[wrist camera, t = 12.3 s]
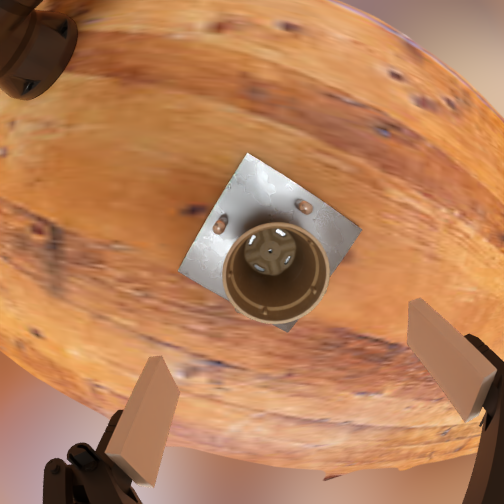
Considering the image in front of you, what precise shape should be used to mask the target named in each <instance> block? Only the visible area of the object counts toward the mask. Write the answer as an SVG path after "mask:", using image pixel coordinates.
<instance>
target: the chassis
mask: <svg viewBox="0 0 504 504" xmlns="http://www.w3.org/2000/svg"><path fill="white" fill-rule="evenodd" d="M272 222H283V223H289V224H293V225H296V226H299V227H301V228H303V229H305V230H307V231H308V232H309V233H311V234H312V235H313V236H314V237H315V238H316V239H317V240H318V241H319V242H320V243H321V245H322V246H323V248H324V250H325V252H326V254H327V257H328V260H329V268H330V276H331V275H332V273H333V272H334V271H335V269H336V268H337V266H338V265H339V263H340V262H341V261H342V259H343V258H344V256H345V255H346V253H347V252H348V250H349V249H350V247H351V246H352V244H353V243H354V241H355V240H356V238H357V237H358V235H359V234H360V232H361V231H362V229H361V228H359V227H358V226H357V225H355V224H354V223H353V222H351V221H350V220H348V219H347V218H346V217H344V216H343V215H341V214H340V213H339V212H337V211H336V210H334V209H333V208H332V207H330V206H329V205H327V204H326V203H324V202H323V201H322V200H320V199H319V198H317V197H316V196H314V195H313V194H311V193H310V192H308V191H307V190H305V189H304V188H302V187H301V186H299V185H298V184H296V183H295V182H293V181H292V180H290V179H289V178H287V177H285V176H284V175H282V174H281V173H279V172H278V171H276V170H274V169H273V168H271V167H270V166H268V165H266V164H265V163H263V162H262V161H260V160H258V159H257V158H255V157H253V156H252V155H250V154H248V153H247V154H246V156H245V157H244V159H243V160H242V162H241V164H240V165H239V167H238V168H237V170H236V172H235V173H234V175H233V176H232V178H231V180H230V181H229V183H228V185H227V186H226V188H225V189H224V191H223V193H222V194H221V196H220V198H219V199H218V201H217V203H216V204H215V206H214V208H213V209H212V211H211V213H210V215H209V216H208V218H207V220H206V221H205V223H204V225H203V227H202V228H201V230H200V232H199V234H198V235H197V237H196V239H195V241H194V242H193V244H192V246H191V248H190V249H189V251H188V253H187V255H186V257H185V258H184V260H183V262H182V264H181V266H180V267H179V269H178V272H180V273H181V274H183V275H185V276H186V277H188V278H190V279H192V280H193V281H195V282H197V283H198V284H200V285H202V286H204V287H205V288H207V289H209V290H210V291H212V292H214V293H216V294H218V295H219V296H221V297H223V298H225V299H226V300H228V301H230V300H229V299H228V297H227V295H226V293H225V290H224V287H223V280H222V270H223V264H224V261H225V258H226V255H227V253H228V251H229V249H230V248H231V246H232V245H233V244H234V242H235V241H236V240H237V239H238V238H239V237H240V236H241V235H243V234H244V233H245V232H247V231H249V230H250V229H252V228H254V227H256V226H259V225H262V224H266V223H272ZM276 233H278V234H280V235H281V236H283V237H285V236H286V234H285V233H284V232H283V231H281V230H280V229H277V230H276ZM255 238H256V236H255V235H252V237H251V239H250V242H249V245H251V244H252V242H253V241H254V239H255ZM269 253H272V250H269ZM290 258H291V257H290V256H289V257H288V258H287V259H286V261H285V263H284V264H287V263H288V261H289V260H290ZM255 268H256V269H257V270H259V271H264V270H265V269H262V268H260V267H259V266H257V265H255ZM329 278H330V277H329ZM326 291H327V289H326ZM325 293H326V292H325ZM235 311H236V312H237V313H240V312H239V311H238V310H237V309H236V308H235ZM297 320H298V319H297ZM297 320H294V321H291V322H288V323H283V324H272V325H274V326H276V327H278V328H280V329H282V330H284V331H286V332H289V331H290V329H291V328H292V327H293V326H294V324H295V323H296V322H297Z"/></svg>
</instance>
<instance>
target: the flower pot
mask: <svg viewBox="0 0 504 504" xmlns="http://www.w3.org/2000/svg"><path fill="white" fill-rule="evenodd" d="M277 229H280V230H281V231H283V232H284V233H285V234H286V236H285V237H283V236H281V235H280V234H278V233H276V230H277ZM252 235H255V236H256V238H255V239H254V241H253V242H252V244H251V245H249V242H250V239H251V237H252ZM269 250H272V253H269ZM289 256H290V257H291V258H290V260H289V261H288V263H287V264H284V263H285V261H286V259H287V258H288V257H289ZM255 265H257V266H259V267H260V268H262V269H265V270H264V271H259V270H257V269H256V268H255ZM329 277H330V268H329V260H328V257H327V254H326V252H325V250H324V248H323V246H322V245H321V243H320V242H319V241H318V240H317V239H316V238H315V237H314V236H313V235H312V234H311V233H309V232H308V231H307V230H305V229H303V228H301V227H299V226H296V225H293V224H289V223H283V222H272V223H266V224H262V225H259V226H256V227H254V228H252V229H250V230H249V231H247V232H245V233H244V234H243V235H241V236H240V237H239V238H238V239H237V240H236V241H235V242H234V244H233V245H232V246H231V248H230V249H229V251H228V253H227V255H226V258H225V261H224V264H223V270H222V280H223V287H224V290H225V293H226V295H227V297H228V299H229V300H230V302H231V304H232V305H233V306H234V307H235V308H236V309H237V310H238V311H239V312H240V313H241V314H243V315H245V316H246V317H248V318H250V319H252V320H255V321H258V322H261V323H267V324H283V323H288V322H291V321H294V320H297V319H300V318H301V317H303V316H305V315H307V314H308V313H309V312H310V311H312V310H313V309H314V308H315V307H316V306H317V305H318V303H319V302H320V301H321V300H322V298H323V296H324V294H325V292H326V289H327V287H328V283H329Z"/></svg>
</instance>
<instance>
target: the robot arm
mask: <svg viewBox="0 0 504 504" xmlns="http://www.w3.org/2000/svg"><path fill="white" fill-rule="evenodd" d="M42 1H43V0H0V89H2V90H3V91H4V92H5V93H6V94H8V95H9V96H10V97H12V98H15V99H20V100H30V99H33V98H35V97H37V96H39V95H40V94H42V93H43V92H44V91H45V90H47V89H48V88H49V87H50V86H51V85H52V84H53V83H54V82H55V80H56V79H57V78H58V77H59V75H60V74H61V73H62V71H63V70H64V68H65V67H66V65H67V63H68V61H69V59H70V57H71V55H72V53H73V51H74V48H75V45H76V40H77V26H76V24H75V22H74V21H73V20H72V19H71V18H70V17H68V16H67V15H65V14H63V13H59V12H51V11H40V10H35V8H36V7H37V6H38V5H39V4H40V3H41V2H42ZM407 344H408V346H409V347H410V348H411V349H412V351H413V352H414V353H415V355H416V356H417V357H418V358H419V360H420V361H421V362H422V364H423V365H424V366H425V368H426V369H427V370H428V372H429V373H430V374H431V376H432V377H433V378H434V380H435V381H436V382H437V384H438V385H439V386H440V388H441V389H442V390H443V392H444V393H445V395H446V396H447V397H448V399H449V400H450V402H451V403H452V404H453V406H454V407H455V409H456V410H457V412H458V413H459V414H460V416H461V417H462V419H463V420H464V422H465V423H467V422H468V421H470V420H472V419H473V418H475V417H477V416H478V415H479V413H480V411H481V409H482V407H484V409H485V410H486V413H485V415H484V417H483V419H482V421H481V423H480V425H479V426H482V424H483V427H482V433H481V438H480V443H479V448H478V452H477V457H476V461H475V465H474V468H473V472H472V476H471V479H470V482H469V486H468V489H467V492H466V494H465V498H464V500H463V503H462V504H504V362H503V361H502V360H501V359H500V358H499V357H498V356H497V355H496V354H495V353H494V352H493V351H492V350H491V349H489V347H488V346H487V345H485V344H484V343H483V342H482V341H481V340H480V339H479V338H478V337H476V336H473V335H471V334H467V335H465V336H463V335H462V334H461V333H459V332H458V331H457V330H456V329H455V328H454V327H453V326H452V325H451V324H450V323H449V322H447V321H446V320H445V319H444V318H443V317H442V316H441V315H440V314H439V313H437V312H436V311H435V310H434V309H433V308H432V307H431V306H430V305H428V304H427V303H426V302H425V301H424V300H423V299H421V298H418V299H415V300H412V301H409V309H408V333H407ZM179 395H180V391H179V389H178V387H177V385H176V383H175V381H174V379H173V377H172V375H171V373H170V371H169V369H168V367H167V365H166V363H165V361H164V359H163V357H162V356H154V357H149V359H148V361H147V363H146V365H145V367H144V369H143V371H142V373H141V375H140V377H139V379H138V381H137V383H136V385H135V387H134V390H133V392H132V394H131V396H130V398H129V400H128V402H127V404H126V406H125V408H124V410H118V411H117V412H116V413H115V414H114V415H113V416H112V417H111V419H110V421H109V424H108V426H107V428H106V430H105V432H104V434H103V436H102V438H101V440H100V442H99V444H98V447H97V449H96V451H94V450H93V449H92V447H91V446H90V445H89V444H87V443H78V444H75V445H74V446H72V447H71V448H70V449H69V451H68V453H67V460H68V461H69V462H71V463H72V464H71V465H67V464H66V463H65V462H64V461H63V460H62V459H59V458H54V459H52V460H50V461H49V462H48V463H47V464H46V466H45V469H44V482H43V504H142V502H141V500H140V499H139V497H138V496H137V494H136V492H135V490H134V489H133V488H132V487H131V482H132V480H133V481H134V482H135V483H136V484H137V485H138V486H143V487H150V488H154V486H155V482H156V478H157V474H158V471H159V467H160V463H161V459H162V456H163V451H164V448H165V445H166V441H167V437H168V434H169V430H170V426H171V423H172V419H173V416H174V412H175V409H176V405H177V402H178V398H179Z"/></svg>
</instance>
